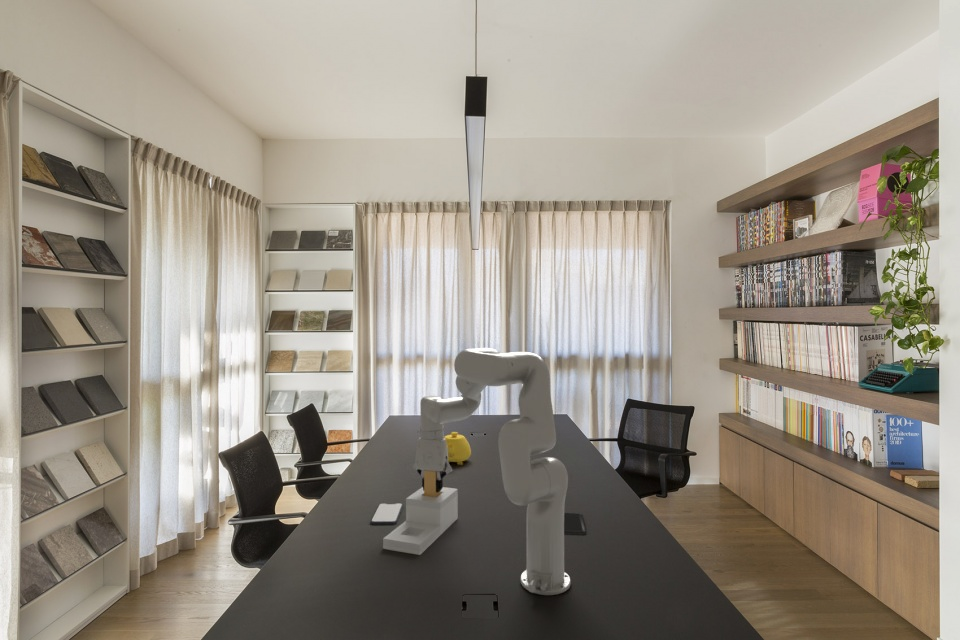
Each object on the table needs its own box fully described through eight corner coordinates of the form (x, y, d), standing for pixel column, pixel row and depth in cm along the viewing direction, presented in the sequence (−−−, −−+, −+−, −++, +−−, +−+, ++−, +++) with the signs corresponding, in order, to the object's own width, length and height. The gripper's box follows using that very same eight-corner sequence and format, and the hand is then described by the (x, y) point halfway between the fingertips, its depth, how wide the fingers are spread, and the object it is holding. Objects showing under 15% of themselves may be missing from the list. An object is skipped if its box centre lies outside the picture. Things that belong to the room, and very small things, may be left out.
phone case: (396, 526, 167) (403, 507, 183) (396, 521, 167) (403, 502, 183) (369, 526, 167) (379, 507, 183) (369, 522, 167) (379, 503, 183)
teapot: (466, 470, 227) (465, 439, 227) (431, 468, 229) (431, 438, 229) (473, 457, 246) (473, 429, 246) (442, 456, 249) (442, 428, 249)
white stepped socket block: (420, 555, 146) (419, 520, 146) (383, 548, 150) (383, 514, 150) (457, 518, 172) (457, 488, 172) (425, 513, 176) (425, 485, 176)
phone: (582, 513, 174) (586, 532, 159) (582, 517, 174) (586, 535, 159) (558, 512, 175) (560, 531, 160) (558, 516, 175) (560, 534, 160)
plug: (435, 502, 165) (435, 471, 165) (424, 501, 166) (424, 470, 166) (440, 498, 169) (440, 468, 169) (429, 496, 170) (429, 466, 170)
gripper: (403, 434, 167) (404, 491, 167) (451, 438, 161) (451, 497, 161) (414, 430, 174) (414, 483, 174) (460, 433, 168) (460, 489, 168)
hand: (432, 489), depth 168 cm, fingers closed on plug, 3 cm apart
